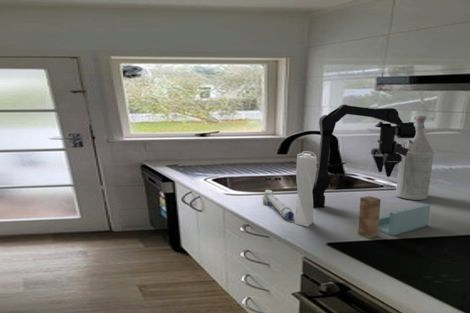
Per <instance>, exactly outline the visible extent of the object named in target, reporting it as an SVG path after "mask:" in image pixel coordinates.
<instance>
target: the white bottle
mask: <svg viewBox="0 0 470 313" xmlns="http://www.w3.org/2000/svg"><path fill="white" fill-rule="evenodd" d="M426 116H427V115H426V114H425V115H424V114H419V113H418V114H417V113H416V114H415V116H414V118H413V120H412V122H414V120H416V121H415V122H414V124H416V125H414V126H415V130H416V134H415V137H414V138H405V139H404V142H403V145H402V146H403V147H404V148H406V149H409V150H408V152H407V154H406V156H403V155H401V154H400V155H401V156H402V161H401V162H400V163H398V170H397V179H396V190H395V195H396V197H399V198H402V199H406V200H413V201H415V200H416V201H418V200H419V201H420V200H421V201H422V200H426V199H428V198H429V190H430V183H431V176H432V168H433V162H434V155H435V152H434V151H433V149H432V147H431V145H430V143H429V141H428V139H427V137H426V135H425V133H424V131H425V130H426V126H425V122H426V121H425V120H426V119H427V117H426Z"/></svg>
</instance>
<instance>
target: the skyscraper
mask: <svg viewBox="0 0 470 313" xmlns="http://www.w3.org/2000/svg"><path fill="white" fill-rule="evenodd" d="M317 160H318V158H317V155H316V154H315V153H314V152H313V151H309V150H304V151H301V153H298V154H296V174H295V175H296V178H295V179H296V180H295V181H296V189H297V199H296V208H295V216H294V219H295V220H294V224H295V225H300V226H304V227H309V226H310V225H311V224H312V223H314V207H313V194H312V190H313V186H314V182H315V176H316V170H317V167H318V162H317Z"/></svg>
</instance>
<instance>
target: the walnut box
mask: <svg viewBox="0 0 470 313" xmlns="http://www.w3.org/2000/svg"><path fill="white" fill-rule="evenodd" d="M381 201H382V200H381V198H377V197H374V196H371V195H368V196H363V197H360V202H359V212H358V213H359V215H358V228H357V234H358V235H359V236H362V237H365V238H367V239H371V238H375V237H379V236H378V235H379V230H378V226H379V217H380V209H381Z"/></svg>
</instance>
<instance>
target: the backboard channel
mask: <svg viewBox="0 0 470 313" xmlns="http://www.w3.org/2000/svg"><path fill="white" fill-rule="evenodd" d="M430 210H431V204H428V203H424V204H420V205H419V204H418V205H416V206H412V207H407V208H401V209H399V210H394V211H390V212H389V214H388V215H387V214H386V215H384V216H379V226H378V232H382V233H385V234H386V235H390V236H397V235H400V234H404V233H407V231H408V232H410V231H411V230H412V231H415V230H419V229H422V228H426V227H428V226H429V220H430ZM418 228H419V229H418Z"/></svg>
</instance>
